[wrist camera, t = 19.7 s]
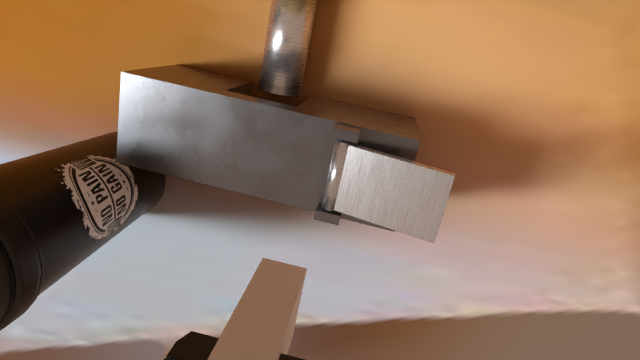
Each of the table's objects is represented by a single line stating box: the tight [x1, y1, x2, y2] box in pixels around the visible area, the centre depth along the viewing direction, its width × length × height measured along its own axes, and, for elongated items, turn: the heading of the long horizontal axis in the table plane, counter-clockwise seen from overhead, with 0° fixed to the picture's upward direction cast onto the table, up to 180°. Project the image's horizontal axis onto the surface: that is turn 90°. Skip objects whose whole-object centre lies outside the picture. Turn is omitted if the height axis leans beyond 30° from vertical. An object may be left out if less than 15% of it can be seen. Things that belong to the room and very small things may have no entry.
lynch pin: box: [259, 0, 318, 96], centre depth 36 cm, size 10×7×6 cm, turn 169°
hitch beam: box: [116, 65, 420, 232], centre depth 37 cm, size 22×7×11 cm, turn 79°
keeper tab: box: [322, 139, 456, 243], centre depth 31 cm, size 1×5×8 cm
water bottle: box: [0, 132, 165, 330], centre depth 35 cm, size 10×10×23 cm
